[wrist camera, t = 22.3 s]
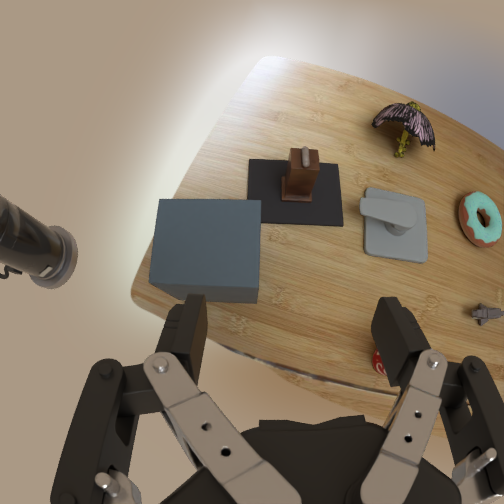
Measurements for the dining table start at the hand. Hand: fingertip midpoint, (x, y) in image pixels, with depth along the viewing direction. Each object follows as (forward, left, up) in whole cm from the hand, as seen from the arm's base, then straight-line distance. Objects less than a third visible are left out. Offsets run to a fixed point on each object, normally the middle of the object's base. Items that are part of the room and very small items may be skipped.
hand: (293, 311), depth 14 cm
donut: (+44, +20, -33) cm, 59 cm away
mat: (+5, +23, -33) cm, 41 cm away
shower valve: (+22, +18, -33) cm, 44 cm away
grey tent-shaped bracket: (-7, +9, -33) cm, 35 cm away
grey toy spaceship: (+43, +1, -33) cm, 54 cm away
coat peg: (+5, +23, -32) cm, 40 cm away
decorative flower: (+27, +37, -33) cm, 56 cm away
